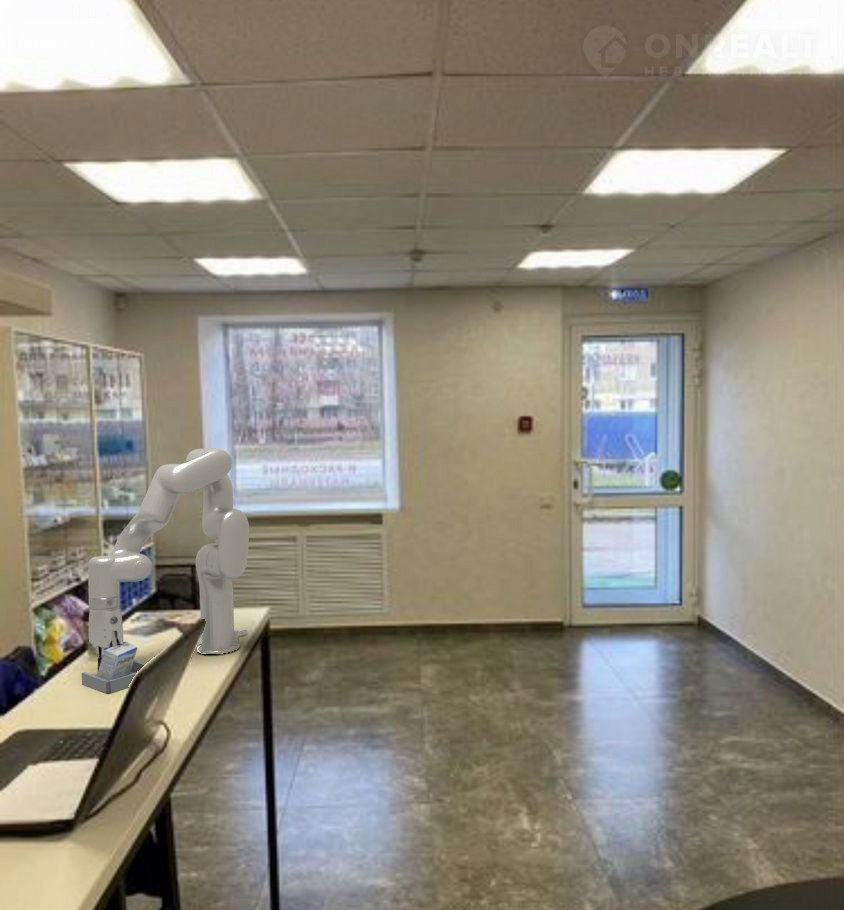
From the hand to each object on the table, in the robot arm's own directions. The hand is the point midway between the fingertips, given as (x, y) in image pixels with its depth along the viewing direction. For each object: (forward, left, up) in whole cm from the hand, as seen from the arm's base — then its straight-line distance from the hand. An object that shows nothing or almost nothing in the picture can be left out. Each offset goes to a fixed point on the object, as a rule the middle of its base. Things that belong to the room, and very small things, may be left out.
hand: (105, 672), depth 190 cm
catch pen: (-1, +5, -2) cm, 5 cm away
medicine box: (0, +3, -1) cm, 3 cm away
